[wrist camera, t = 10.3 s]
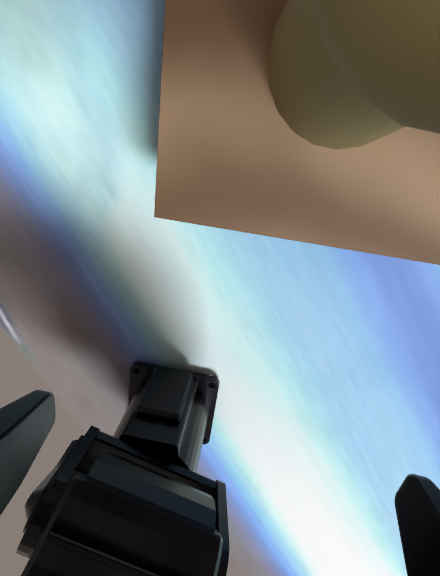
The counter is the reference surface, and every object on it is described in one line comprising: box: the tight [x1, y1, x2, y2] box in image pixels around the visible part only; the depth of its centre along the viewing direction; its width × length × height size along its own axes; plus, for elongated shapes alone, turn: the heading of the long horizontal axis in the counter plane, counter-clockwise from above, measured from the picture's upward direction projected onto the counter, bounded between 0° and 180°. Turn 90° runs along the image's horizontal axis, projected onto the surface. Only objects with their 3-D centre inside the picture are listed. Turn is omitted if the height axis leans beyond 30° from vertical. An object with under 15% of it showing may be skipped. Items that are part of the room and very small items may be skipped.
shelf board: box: [154, 0, 440, 265], centre depth 12 cm, size 14×14×1 cm
